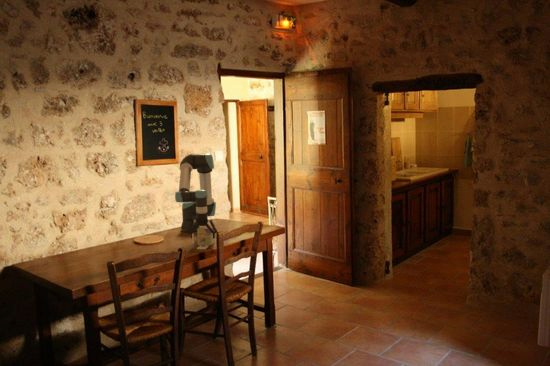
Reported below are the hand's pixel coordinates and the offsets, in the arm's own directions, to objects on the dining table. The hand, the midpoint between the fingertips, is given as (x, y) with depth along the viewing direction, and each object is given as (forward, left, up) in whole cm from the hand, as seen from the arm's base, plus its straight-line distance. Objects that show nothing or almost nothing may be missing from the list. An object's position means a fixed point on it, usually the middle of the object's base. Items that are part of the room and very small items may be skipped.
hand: (203, 243), depth 348 cm
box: (-9, 0, -3) cm, 9 cm away
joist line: (-7, 0, -3) cm, 7 cm away
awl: (0, 0, -2) cm, 2 cm away
